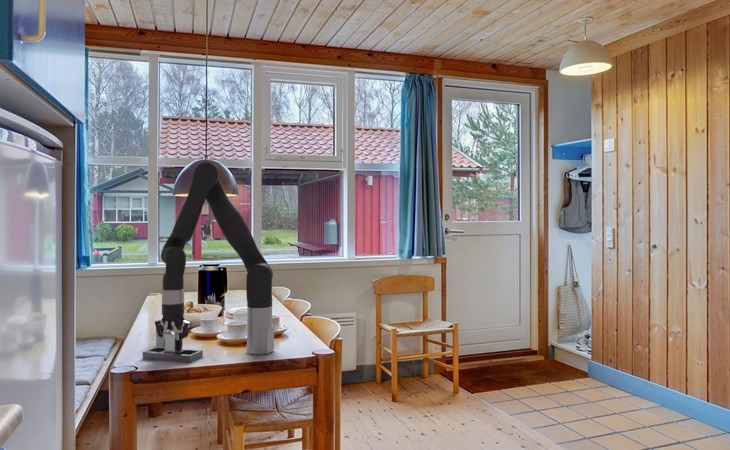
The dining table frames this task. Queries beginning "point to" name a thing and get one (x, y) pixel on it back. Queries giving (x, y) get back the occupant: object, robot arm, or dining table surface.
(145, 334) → the dining table surface
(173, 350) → the light grey block
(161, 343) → the medicine box
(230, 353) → the dining table surface
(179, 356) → the grey compartment tray
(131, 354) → the dining table surface
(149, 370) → the dining table surface
